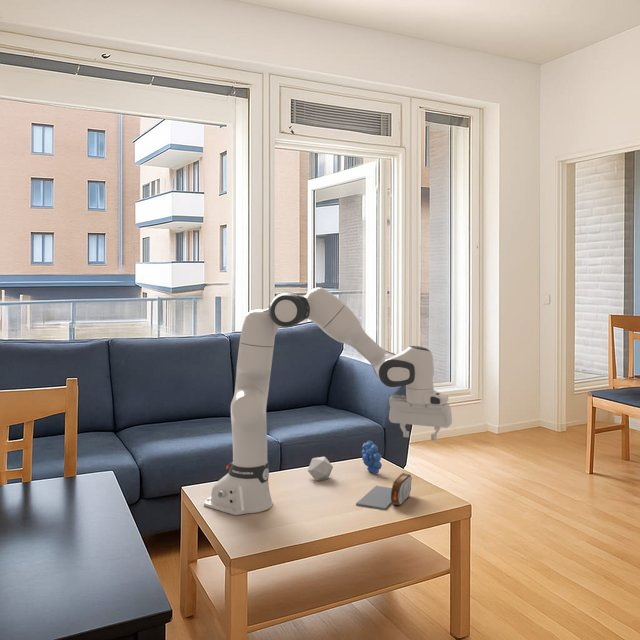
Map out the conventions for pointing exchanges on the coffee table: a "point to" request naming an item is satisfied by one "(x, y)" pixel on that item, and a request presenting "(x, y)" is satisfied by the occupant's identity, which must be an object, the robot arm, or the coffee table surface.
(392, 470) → the coffee table surface
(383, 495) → the mat
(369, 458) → the grapes
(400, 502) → the tin
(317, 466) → the die
